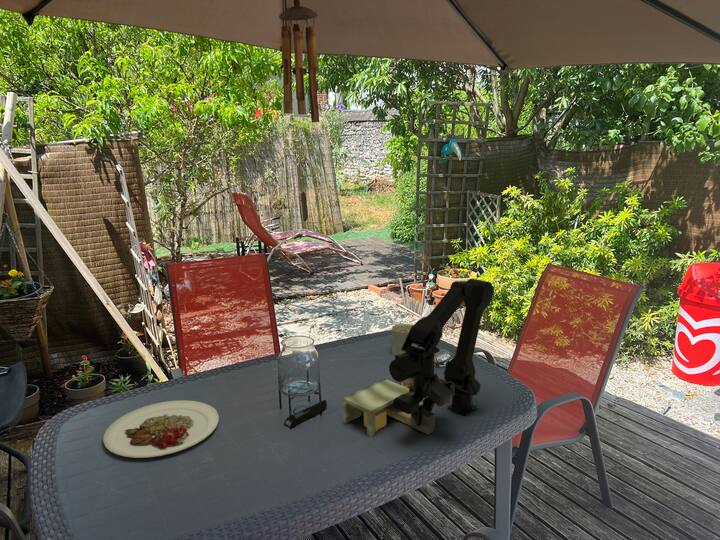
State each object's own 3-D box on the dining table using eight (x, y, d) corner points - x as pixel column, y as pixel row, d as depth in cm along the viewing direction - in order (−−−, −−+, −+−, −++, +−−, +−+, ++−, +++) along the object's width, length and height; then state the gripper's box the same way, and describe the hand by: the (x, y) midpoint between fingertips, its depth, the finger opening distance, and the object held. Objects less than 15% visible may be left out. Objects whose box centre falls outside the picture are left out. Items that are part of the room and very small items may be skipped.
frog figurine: (415, 378, 173) (415, 368, 172) (432, 393, 162) (433, 382, 161) (384, 384, 169) (384, 374, 168) (400, 400, 158) (400, 388, 157)
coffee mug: (400, 359, 189) (400, 333, 187) (386, 350, 197) (386, 326, 195) (429, 352, 195) (430, 327, 193) (415, 344, 203) (415, 320, 201)
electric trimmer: (330, 410, 152) (330, 401, 151) (291, 430, 141) (291, 420, 140) (321, 407, 155) (321, 397, 154) (283, 425, 143) (282, 415, 143)
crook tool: (381, 406, 152) (380, 391, 151) (434, 430, 138) (434, 413, 137) (363, 415, 147) (363, 399, 146) (417, 441, 133) (417, 423, 132)
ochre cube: (374, 419, 146) (374, 405, 145) (386, 425, 142) (386, 410, 141) (363, 425, 142) (363, 411, 142) (375, 431, 139) (375, 416, 138)
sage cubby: (384, 401, 156) (384, 378, 155) (412, 413, 149) (412, 389, 147) (343, 422, 144) (342, 397, 143) (371, 436, 137) (370, 411, 135)
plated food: (166, 398, 161) (165, 388, 160) (241, 418, 148) (240, 407, 147) (78, 446, 135) (77, 434, 134) (160, 475, 122) (159, 462, 121)
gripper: (425, 391, 124) (424, 448, 127) (468, 368, 137) (466, 421, 140) (391, 377, 131) (391, 432, 135) (435, 357, 144) (433, 408, 148)
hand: (422, 423), depth 139 cm, fingers closed on crook tool, 3 cm apart
